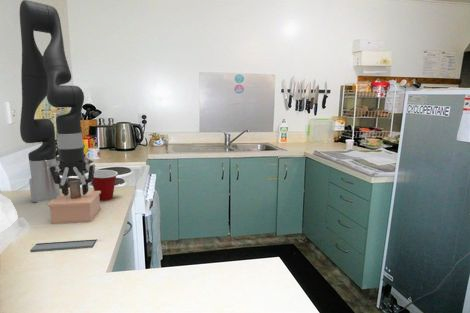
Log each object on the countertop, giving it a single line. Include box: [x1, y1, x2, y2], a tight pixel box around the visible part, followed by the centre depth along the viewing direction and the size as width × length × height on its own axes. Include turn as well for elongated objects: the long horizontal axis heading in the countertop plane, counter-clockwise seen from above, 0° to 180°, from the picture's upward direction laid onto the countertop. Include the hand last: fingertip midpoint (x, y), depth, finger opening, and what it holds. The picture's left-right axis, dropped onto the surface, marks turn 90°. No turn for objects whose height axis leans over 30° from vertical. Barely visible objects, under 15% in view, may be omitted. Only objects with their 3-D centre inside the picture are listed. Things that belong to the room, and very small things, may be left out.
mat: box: [30, 239, 98, 253], centre depth 90 cm, size 16×14×1 cm
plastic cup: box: [91, 169, 118, 202], centre depth 122 cm, size 11×11×12 cm
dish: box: [49, 195, 101, 225], centre depth 105 cm, size 12×12×7 cm
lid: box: [46, 180, 101, 208], centre depth 103 cm, size 13×13×6 cm
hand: (75, 194), depth 104 cm, fingers open, 5 cm apart
